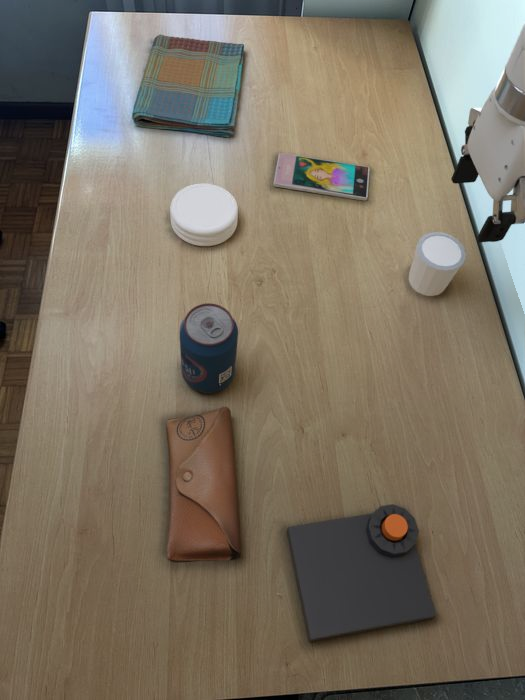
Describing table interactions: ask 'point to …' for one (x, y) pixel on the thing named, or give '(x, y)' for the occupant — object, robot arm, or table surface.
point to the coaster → (204, 214)
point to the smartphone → (322, 176)
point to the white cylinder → (435, 263)
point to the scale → (358, 575)
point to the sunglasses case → (202, 488)
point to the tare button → (394, 527)
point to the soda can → (208, 347)
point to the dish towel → (190, 86)
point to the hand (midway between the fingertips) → (475, 209)
